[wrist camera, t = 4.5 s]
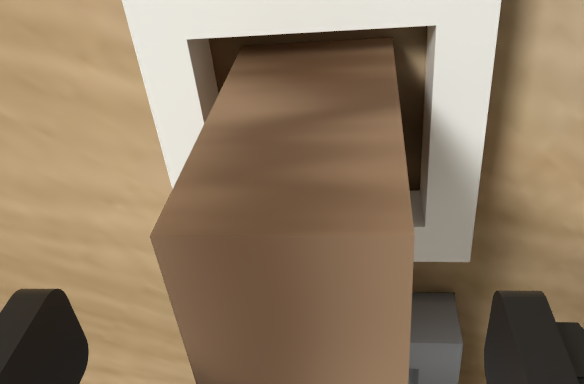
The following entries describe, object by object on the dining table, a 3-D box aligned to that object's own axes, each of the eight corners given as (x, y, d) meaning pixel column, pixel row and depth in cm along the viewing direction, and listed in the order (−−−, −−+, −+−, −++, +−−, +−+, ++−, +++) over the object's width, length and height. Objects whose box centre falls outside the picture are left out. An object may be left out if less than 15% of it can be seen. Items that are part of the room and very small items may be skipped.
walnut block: (392, 37, 16) (414, 235, 9) (391, 166, 19) (407, 400, 12) (242, 45, 17) (149, 236, 10) (260, 168, 19) (199, 393, 12)
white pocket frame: (490, -61, 14) (506, -43, 13) (461, 223, 20) (469, 262, 18) (143, -35, 16) (117, -15, 14) (205, 225, 21) (191, 261, 20)
